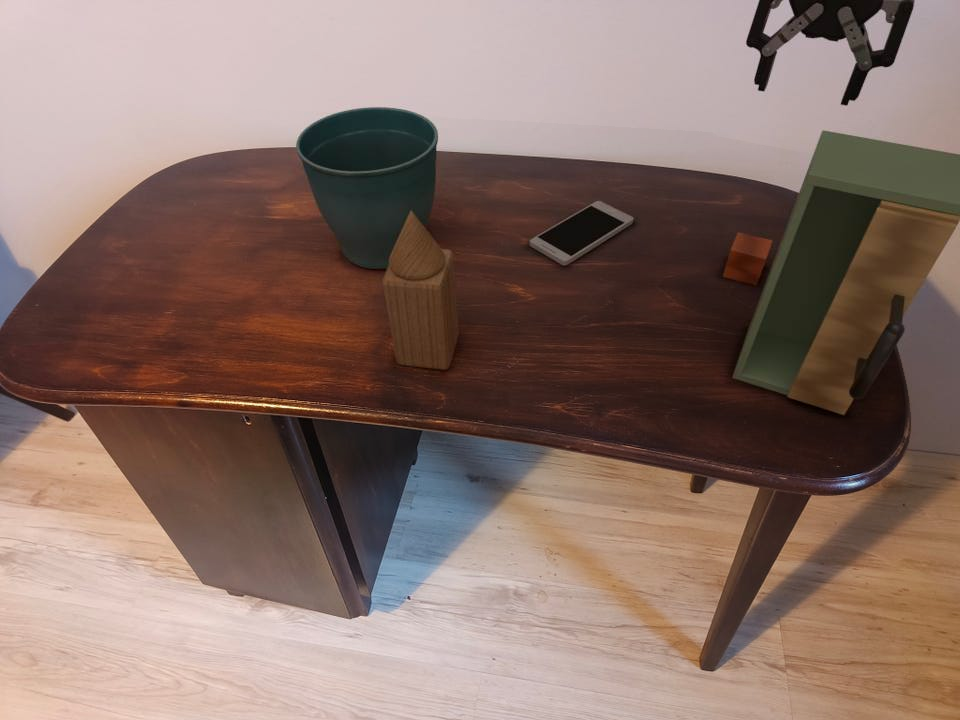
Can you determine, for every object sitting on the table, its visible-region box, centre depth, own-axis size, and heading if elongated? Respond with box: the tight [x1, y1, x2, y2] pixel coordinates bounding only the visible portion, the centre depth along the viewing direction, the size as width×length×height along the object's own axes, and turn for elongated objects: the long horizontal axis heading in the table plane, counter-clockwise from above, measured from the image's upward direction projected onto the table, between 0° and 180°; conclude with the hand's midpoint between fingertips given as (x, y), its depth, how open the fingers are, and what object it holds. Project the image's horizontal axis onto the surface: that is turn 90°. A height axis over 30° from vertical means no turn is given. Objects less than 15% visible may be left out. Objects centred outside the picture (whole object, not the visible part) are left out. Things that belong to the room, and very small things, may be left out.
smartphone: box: [529, 200, 634, 266], centre depth 94 cm, size 7×16×1 cm, turn 132°
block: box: [722, 232, 773, 287], centre depth 85 cm, size 4×4×4 cm
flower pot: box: [295, 106, 439, 270], centre depth 88 cm, size 18×18×17 cm
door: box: [786, 207, 957, 416], centre depth 59 cm, size 6×6×24 cm
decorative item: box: [382, 211, 460, 371], centre depth 71 cm, size 7×7×20 cm
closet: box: [731, 129, 960, 396], centre depth 65 cm, size 12×10×26 cm
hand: (802, 95), depth 70 cm, fingers open, 8 cm apart
